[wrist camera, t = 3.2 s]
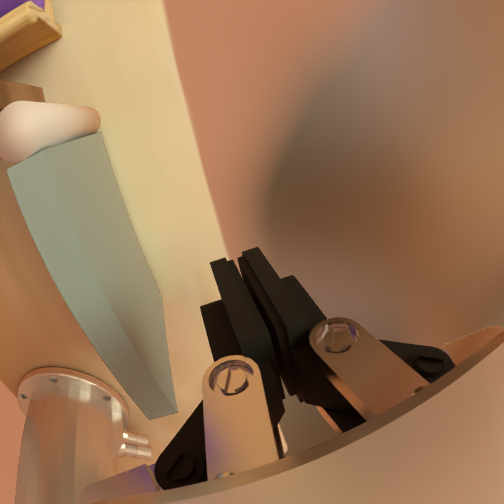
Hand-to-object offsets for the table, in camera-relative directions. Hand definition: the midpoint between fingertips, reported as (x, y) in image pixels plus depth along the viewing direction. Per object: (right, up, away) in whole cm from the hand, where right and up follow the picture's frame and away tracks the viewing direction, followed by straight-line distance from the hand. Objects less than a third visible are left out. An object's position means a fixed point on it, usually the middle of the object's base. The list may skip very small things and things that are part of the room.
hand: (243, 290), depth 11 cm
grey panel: (-9, +4, +9) cm, 13 cm away
